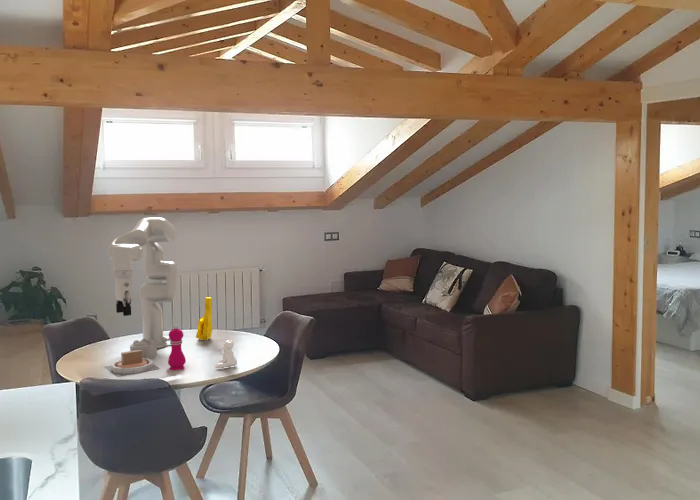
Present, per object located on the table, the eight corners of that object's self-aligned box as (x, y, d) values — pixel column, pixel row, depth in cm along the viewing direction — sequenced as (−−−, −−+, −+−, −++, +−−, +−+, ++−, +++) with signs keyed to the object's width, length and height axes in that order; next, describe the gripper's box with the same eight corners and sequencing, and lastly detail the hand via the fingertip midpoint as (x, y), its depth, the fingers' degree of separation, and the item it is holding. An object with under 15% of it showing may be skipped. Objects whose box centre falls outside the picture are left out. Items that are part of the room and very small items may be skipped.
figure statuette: (203, 335, 329) (201, 294, 327) (217, 335, 329) (216, 294, 327) (192, 343, 312) (191, 300, 309) (207, 344, 311) (206, 300, 309)
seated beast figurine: (220, 363, 277) (219, 337, 276) (239, 363, 277) (238, 337, 276) (214, 370, 268) (214, 342, 266) (234, 370, 267) (234, 342, 266)
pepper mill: (170, 369, 269) (168, 323, 267) (187, 368, 269) (185, 323, 267) (166, 374, 262) (165, 327, 260) (184, 373, 262) (182, 327, 260)
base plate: (145, 362, 278) (145, 355, 278) (160, 372, 264) (160, 364, 264) (104, 370, 268) (104, 362, 267) (117, 380, 253) (117, 371, 253)
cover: (141, 362, 274) (140, 346, 273) (151, 368, 265) (150, 352, 264) (113, 367, 267) (112, 351, 266) (122, 373, 257) (121, 357, 257)
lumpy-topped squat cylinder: (127, 362, 279) (127, 343, 278) (139, 354, 292) (138, 336, 291) (150, 363, 278) (149, 344, 278) (161, 355, 291) (160, 337, 290)
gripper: (137, 275, 262) (138, 315, 263) (125, 272, 276) (126, 310, 277) (119, 276, 257) (120, 317, 258) (108, 273, 271) (109, 312, 272)
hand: (123, 313), depth 268 cm, fingers open, 9 cm apart
